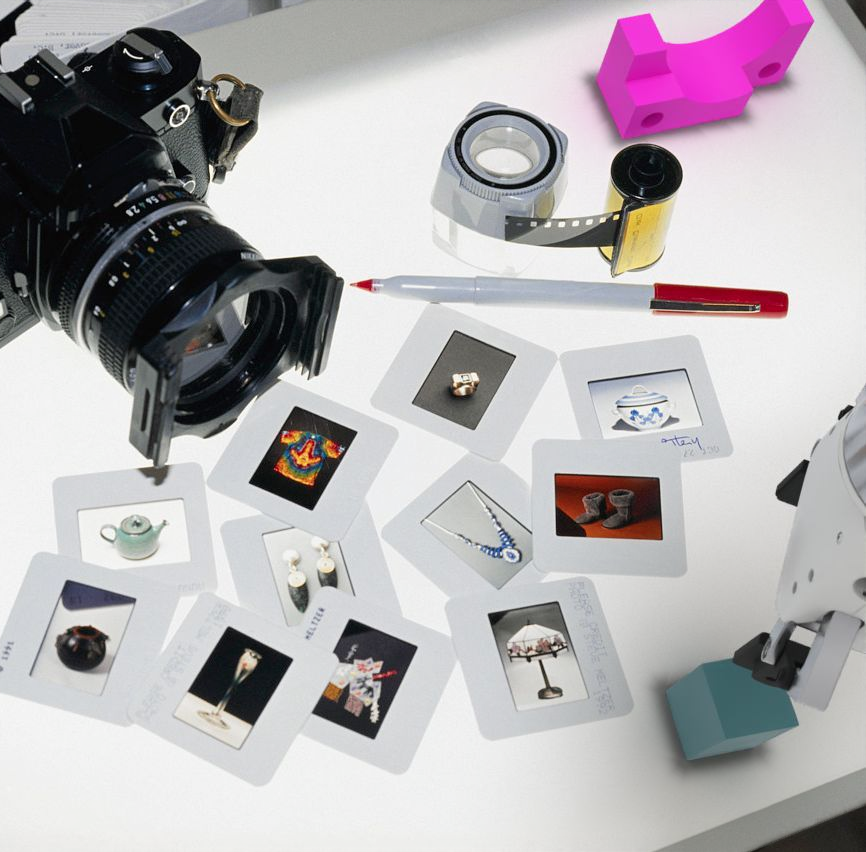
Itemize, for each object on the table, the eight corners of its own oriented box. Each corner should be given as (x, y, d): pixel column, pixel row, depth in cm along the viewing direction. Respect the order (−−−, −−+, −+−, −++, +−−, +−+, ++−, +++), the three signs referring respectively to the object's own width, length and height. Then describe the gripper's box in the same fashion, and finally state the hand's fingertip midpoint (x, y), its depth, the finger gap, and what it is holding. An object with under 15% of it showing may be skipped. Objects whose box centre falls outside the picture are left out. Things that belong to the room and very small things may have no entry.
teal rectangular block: (728, 679, 82) (773, 650, 74) (751, 748, 80) (800, 725, 72) (662, 692, 81) (701, 663, 74) (684, 761, 79) (726, 739, 72)
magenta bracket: (621, 142, 100) (646, 80, 93) (594, 83, 102) (617, 19, 95) (790, 108, 101) (827, 45, 95) (760, 50, 104) (795, -15, 97)
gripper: (1012, 694, 44) (819, 768, 60) (1072, 310, 51) (885, 467, 67) (808, 617, 45) (671, 710, 61) (893, 251, 52) (750, 419, 68)
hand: (783, 583), depth 64 cm, fingers open, 9 cm apart
